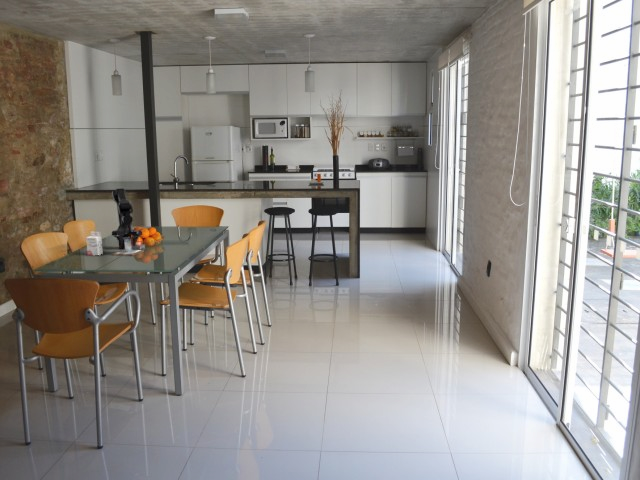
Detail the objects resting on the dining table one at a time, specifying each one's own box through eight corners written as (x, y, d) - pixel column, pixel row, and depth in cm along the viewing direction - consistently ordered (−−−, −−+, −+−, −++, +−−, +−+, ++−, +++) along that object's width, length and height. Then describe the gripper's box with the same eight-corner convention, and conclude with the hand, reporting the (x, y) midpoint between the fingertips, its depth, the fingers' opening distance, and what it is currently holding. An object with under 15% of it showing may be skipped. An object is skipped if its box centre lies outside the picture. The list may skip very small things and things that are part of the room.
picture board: (112, 255, 382) (112, 253, 382) (124, 250, 396) (124, 249, 395) (132, 256, 379) (132, 254, 379) (144, 251, 392) (144, 249, 392)
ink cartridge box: (87, 255, 385) (84, 232, 382) (92, 253, 390) (90, 231, 387) (98, 255, 382) (96, 232, 379) (103, 254, 387) (101, 231, 384)
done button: (133, 247, 396) (132, 242, 396) (136, 245, 400) (136, 241, 400) (139, 247, 395) (138, 243, 395) (142, 246, 399) (142, 241, 399)
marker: (123, 252, 385) (122, 239, 384) (127, 250, 389) (126, 238, 388) (129, 252, 384) (128, 239, 383) (133, 250, 388) (132, 238, 387)
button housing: (131, 250, 396) (130, 246, 395) (136, 248, 402) (136, 244, 401) (139, 250, 394) (139, 246, 394) (145, 249, 400) (144, 244, 400)
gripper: (105, 223, 378) (107, 248, 381) (132, 224, 374) (134, 249, 376) (115, 221, 389) (117, 244, 392) (141, 221, 384) (143, 245, 387)
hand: (128, 246), depth 386 cm, fingers open, 9 cm apart
